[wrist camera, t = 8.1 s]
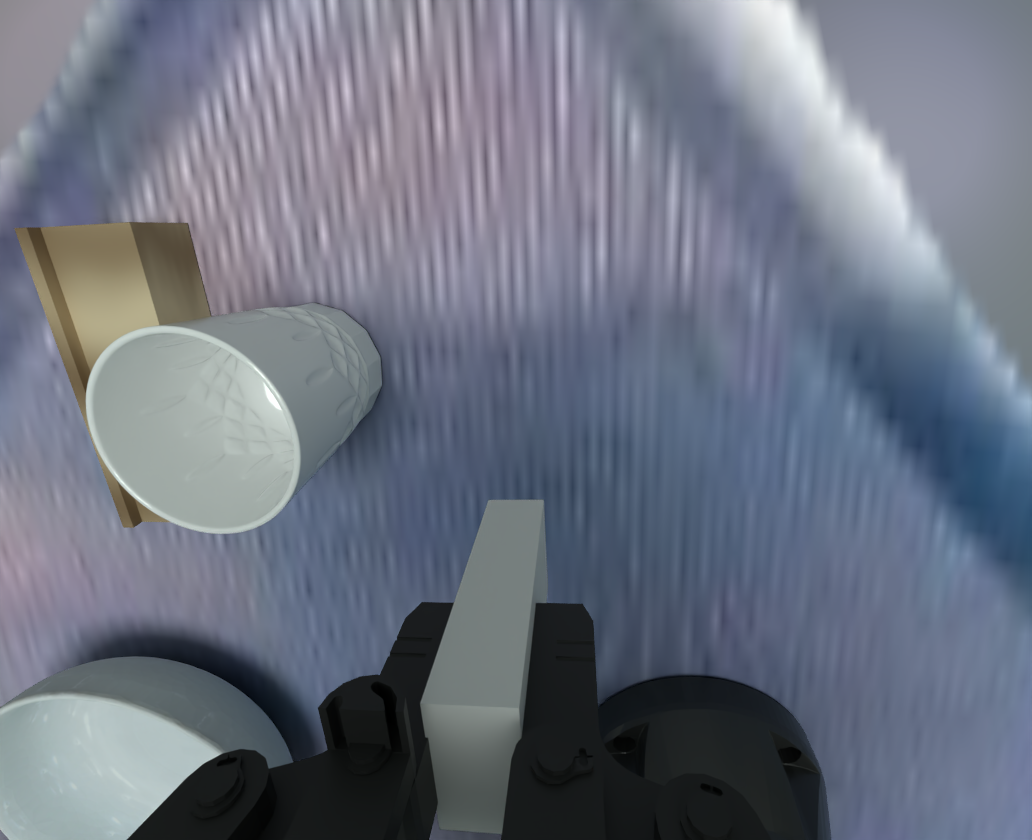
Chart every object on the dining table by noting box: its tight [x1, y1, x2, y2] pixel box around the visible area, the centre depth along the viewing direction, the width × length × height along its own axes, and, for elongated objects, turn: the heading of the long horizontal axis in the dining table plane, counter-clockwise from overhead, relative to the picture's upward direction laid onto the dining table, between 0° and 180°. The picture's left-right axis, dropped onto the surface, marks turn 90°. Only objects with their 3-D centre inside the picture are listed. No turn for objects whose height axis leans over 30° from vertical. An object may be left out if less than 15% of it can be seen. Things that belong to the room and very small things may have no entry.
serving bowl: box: [0, 656, 293, 840], centre depth 35 cm, size 21×21×7 cm
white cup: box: [86, 303, 382, 534], centre depth 23 cm, size 8×8×10 cm
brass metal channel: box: [14, 222, 211, 528], centre depth 26 cm, size 15×5×4 cm, turn 3°
